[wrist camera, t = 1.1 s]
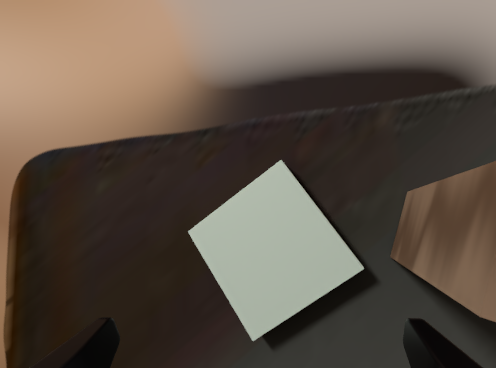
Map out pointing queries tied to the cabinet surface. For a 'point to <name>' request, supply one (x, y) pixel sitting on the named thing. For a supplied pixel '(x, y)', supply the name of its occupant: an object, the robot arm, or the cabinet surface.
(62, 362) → the robot arm
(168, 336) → the cabinet surface
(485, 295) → the walnut block
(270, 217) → the sage board
